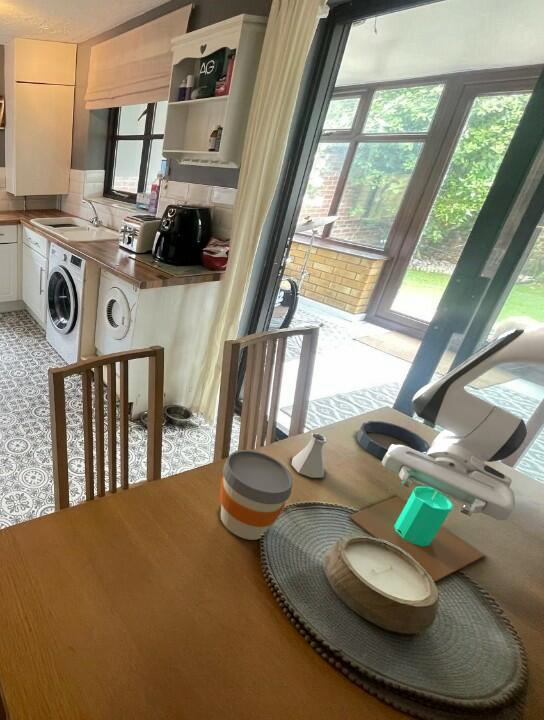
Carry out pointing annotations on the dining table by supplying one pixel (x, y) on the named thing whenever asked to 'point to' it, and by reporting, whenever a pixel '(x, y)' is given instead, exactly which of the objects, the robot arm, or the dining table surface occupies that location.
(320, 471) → the flask
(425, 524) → the candle
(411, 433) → the ring
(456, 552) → the mat
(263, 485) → the reusable coffee cup
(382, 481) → the dining table surface
